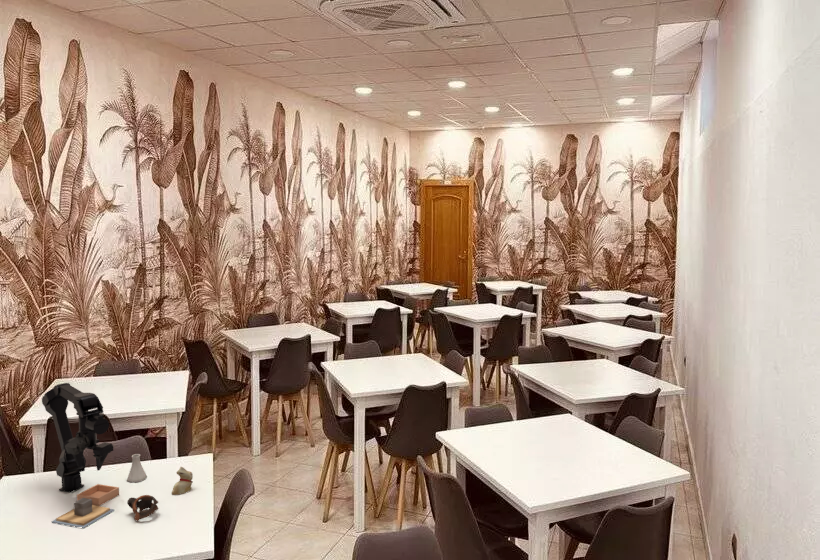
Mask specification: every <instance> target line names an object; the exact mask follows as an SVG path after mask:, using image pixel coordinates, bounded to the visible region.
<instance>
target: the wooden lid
mask: <svg viewBox="0 0 820 560" xmlns="http://www.w3.org/2000/svg"><path fill="white" fill-rule="evenodd" d="M110 509H111V508H110V507H106V506H102V505H100V506H95V505H92V499H87V498H82V499H80V500H78V501H77V500H76V501H74V502H73V509H71V510H69V511H67V512H65V513H63V514H61V515H60V516H58V517H56V518H55V519H56V521H61V522H66V523H72V524H77V525H82V526H84V525H86V524H87V523H89V522H91V521H93V520H94V519H96V518H98V517H99V516H101V515H103V514H105V513H106V512H108V511H110Z"/></svg>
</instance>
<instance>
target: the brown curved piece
mask: <svg viewBox="0 0 820 560" xmlns="http://www.w3.org/2000/svg"><path fill="white" fill-rule="evenodd" d="M157 504H159V500H157V499H156V498H155V496H153V495H149V494H144V495H140V496H138V497H128V499H127V506H129V508H130V509H132V512H133V514H134V520H135V521H136V522H139V521H140V520H143V519H145V518H149V517H151V516H152V515H153V514H154V513H155V512H156V511H158V510H159V507H158V505H157Z"/></svg>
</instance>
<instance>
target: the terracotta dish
mask: <svg viewBox="0 0 820 560" xmlns="http://www.w3.org/2000/svg"><path fill="white" fill-rule="evenodd" d="M118 496H120V487H119V486H113V485H106V484H100V483H97V484H95V485H93V486H91V487H89V488H87V489H86V490H84V491H81V492H80V493H77V494H76V499H77V500H76V501H78V500H80V499H82V498H87V499H92V505H95V506H102V505H104V504H105V503H107V502H108V501H111V500H113V499H115V498H116V497H118Z"/></svg>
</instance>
